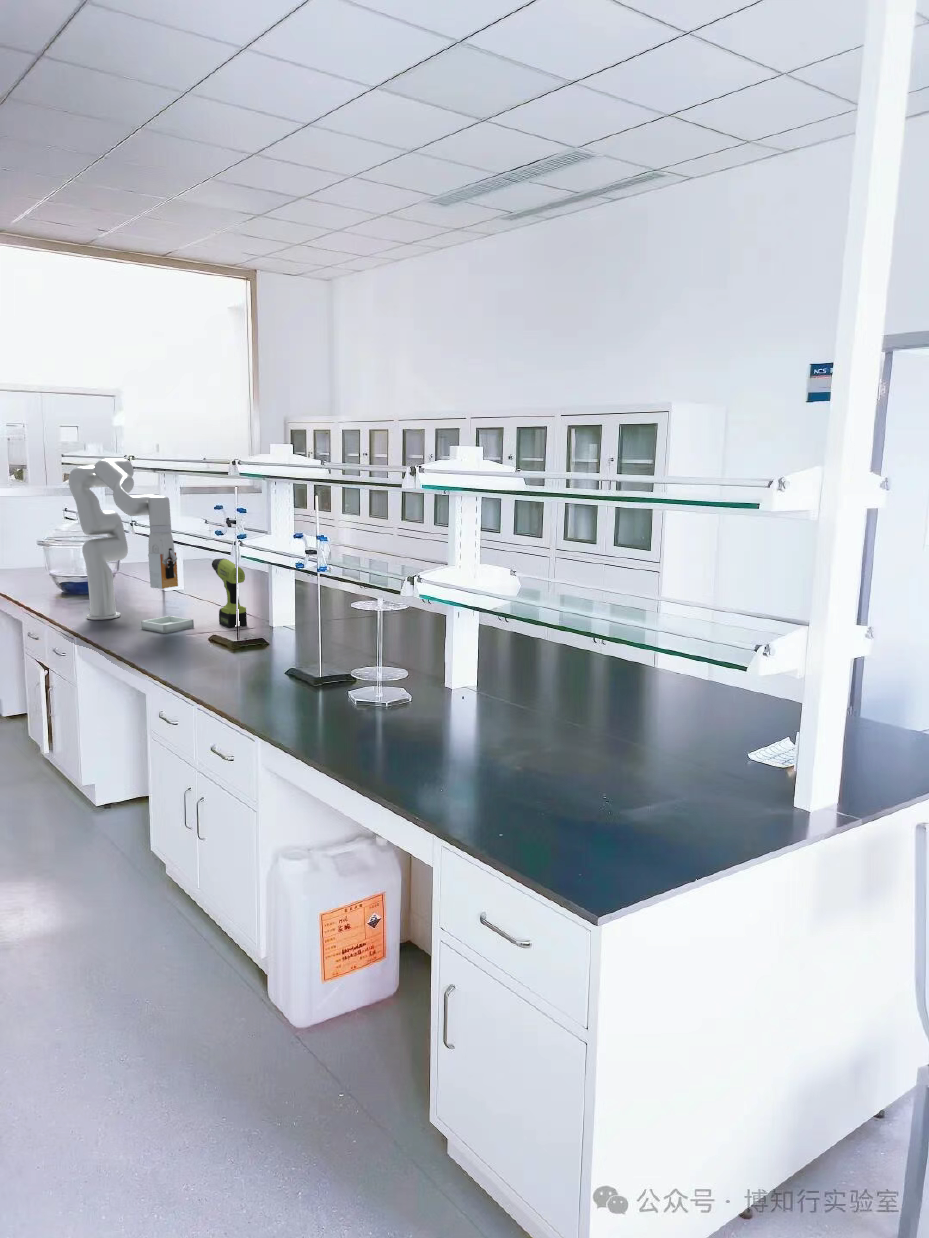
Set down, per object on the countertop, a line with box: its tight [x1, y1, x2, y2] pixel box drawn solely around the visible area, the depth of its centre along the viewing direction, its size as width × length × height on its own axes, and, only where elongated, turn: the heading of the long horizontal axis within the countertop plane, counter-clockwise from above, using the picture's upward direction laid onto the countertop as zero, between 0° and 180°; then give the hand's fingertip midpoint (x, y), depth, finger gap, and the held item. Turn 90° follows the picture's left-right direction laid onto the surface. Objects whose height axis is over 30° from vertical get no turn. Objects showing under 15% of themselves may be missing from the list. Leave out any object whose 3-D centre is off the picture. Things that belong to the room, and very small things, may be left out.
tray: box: [140, 615, 195, 634], centre depth 345 cm, size 14×13×3 cm
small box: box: [147, 551, 179, 590], centre depth 341 cm, size 8×6×13 cm
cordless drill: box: [211, 558, 248, 629], centre depth 351 cm, size 23×7×25 cm, turn 37°
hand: (163, 577), depth 341 cm, fingers closed on small box, 6 cm apart
